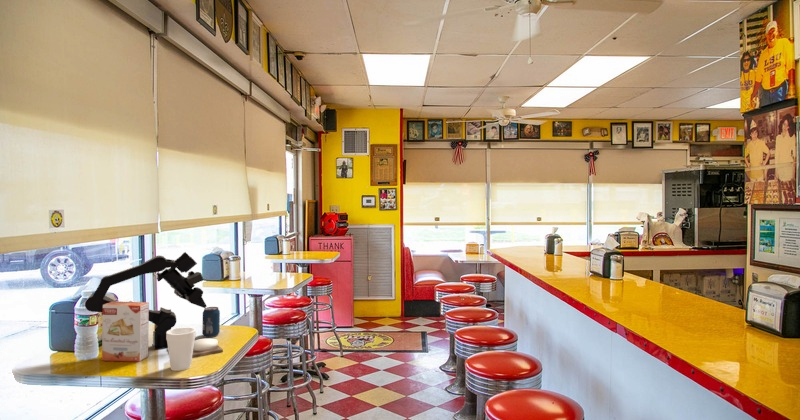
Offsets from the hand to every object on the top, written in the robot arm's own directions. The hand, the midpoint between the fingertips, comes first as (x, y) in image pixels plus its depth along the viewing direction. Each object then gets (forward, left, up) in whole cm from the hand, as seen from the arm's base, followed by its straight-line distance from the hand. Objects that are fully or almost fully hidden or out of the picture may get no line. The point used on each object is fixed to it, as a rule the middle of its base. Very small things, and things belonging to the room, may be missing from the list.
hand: (201, 305), depth 189 cm
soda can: (+5, +3, -15) cm, 16 cm away
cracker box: (-29, -9, -15) cm, 34 cm away
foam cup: (-15, -30, -15) cm, 36 cm away
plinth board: (-6, -14, -15) cm, 21 cm away
